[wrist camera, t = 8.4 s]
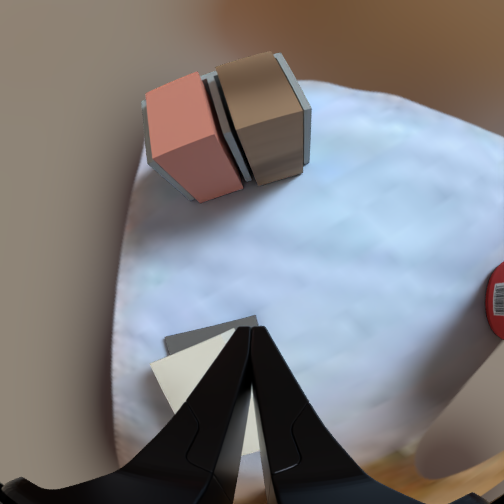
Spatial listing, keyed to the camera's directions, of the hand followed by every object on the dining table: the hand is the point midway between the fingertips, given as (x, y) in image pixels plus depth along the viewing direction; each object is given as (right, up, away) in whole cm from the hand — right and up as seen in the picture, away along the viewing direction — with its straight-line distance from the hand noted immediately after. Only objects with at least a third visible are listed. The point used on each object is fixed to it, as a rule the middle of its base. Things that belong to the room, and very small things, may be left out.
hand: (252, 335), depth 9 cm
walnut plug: (+2, +12, +16) cm, 19 cm away
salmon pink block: (-3, +10, +16) cm, 19 cm away
